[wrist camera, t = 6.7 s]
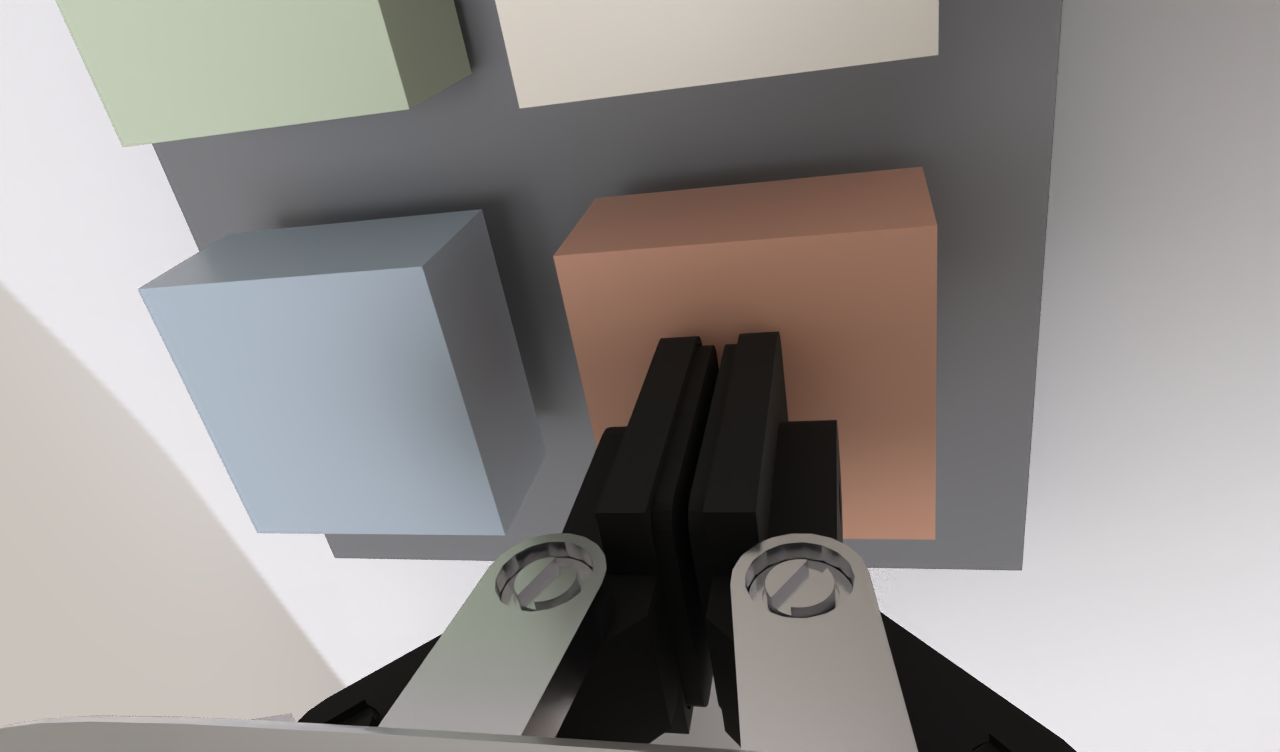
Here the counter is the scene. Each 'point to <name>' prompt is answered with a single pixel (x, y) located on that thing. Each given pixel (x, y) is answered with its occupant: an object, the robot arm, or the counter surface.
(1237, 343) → the counter surface
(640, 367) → the key terracotta
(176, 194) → the keypad board
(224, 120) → the key sage
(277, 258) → the key blue
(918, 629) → the counter surface
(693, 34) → the key cream
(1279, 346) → the counter surface
